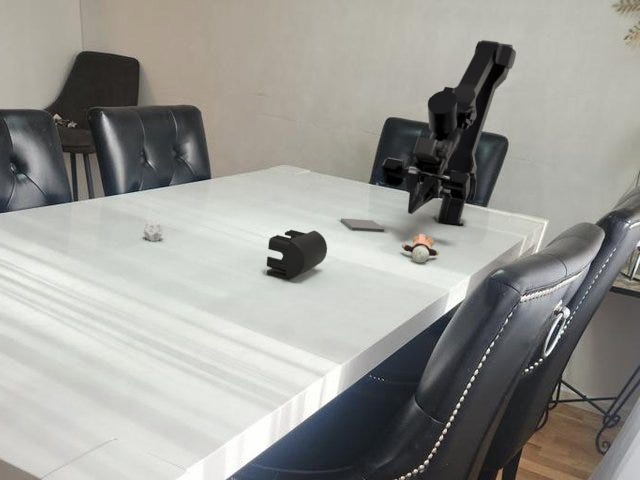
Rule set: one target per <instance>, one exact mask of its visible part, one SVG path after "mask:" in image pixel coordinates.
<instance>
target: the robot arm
mask: <svg viewBox="0 0 640 480" xmlns="http://www.w3.org/2000/svg"><path fill="white" fill-rule="evenodd" d="M516 56H517V51H516V50H515V49H514V48H513V44H510V43H503V42H502V43H501V42H499V41H495V40H494V41H493V40H485V39H482V40H479V41H478V42H477V43H476V45H475V49H474V54H473V56H472V58H471V60H470V61H469V64H468V66H467V68H466V69H465V71H464V73H463V75H462V77H461V79H460V81H459V83H457V84H458V85H457V86H455V87H450V86H444V88H443V90H440V91H437V92H435V93H434V94H433V95H431V96H429V98H428V101H427V117H428V127H429V128H428V129H429V131H431V134H430V137H423V136H418V137H417V139H416V143H415V146H414V149H413V152H412V155H413V156H414V159H413V166H411V165H410V166H409V167H408V168H405V161H404V160H403V159H398V158H394V157H386V158H385V159H384V160H383V163H382V164H381V172H382V178H383V183H384V184H385V185H386V186H391V187H394V188H398V187H401V186H403V184H404V182H405V189H406V192H407V193H409V195H408V205H407V214H410V215H413V214H414V213H415V212H417V211H418V210H419V209H421V208H422V207H423V206H424V205H425V204H427V203H429V202H430V201H432V200H434V199H435V200H436V199H439V198H440V195H442V199H441V203H440V207H439V212H438V214H434V219H435V220H436V222H438V223H441V224H448V225H449V224H450V225H457V226H464V224H465V223H464V222H463V221H462V220H461V219H462V215H463V211H464V208H465V204H466V201H474V200H475V197H476V192H477V184H478V182H477V169H478V167H477V162H476V156H475V155H476V151H477V149H478V145H479V142H480V139H481V136H482V133H483V129H484V126H485V123H486V120H487V118H488V114H489V111H490V108H491V105H492V101H493V98H494V96H495V93H496V90H497V89H498V88H499V87H500V86H501V85H502V84H503V83H504V82H505V81H506V79H507V78H508V75H509V72H510V70H512V69H513V66H514V64H515V62H516V61H515V60H516ZM459 130H461V134H460V131H459ZM420 185H421V187H420Z"/></svg>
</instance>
